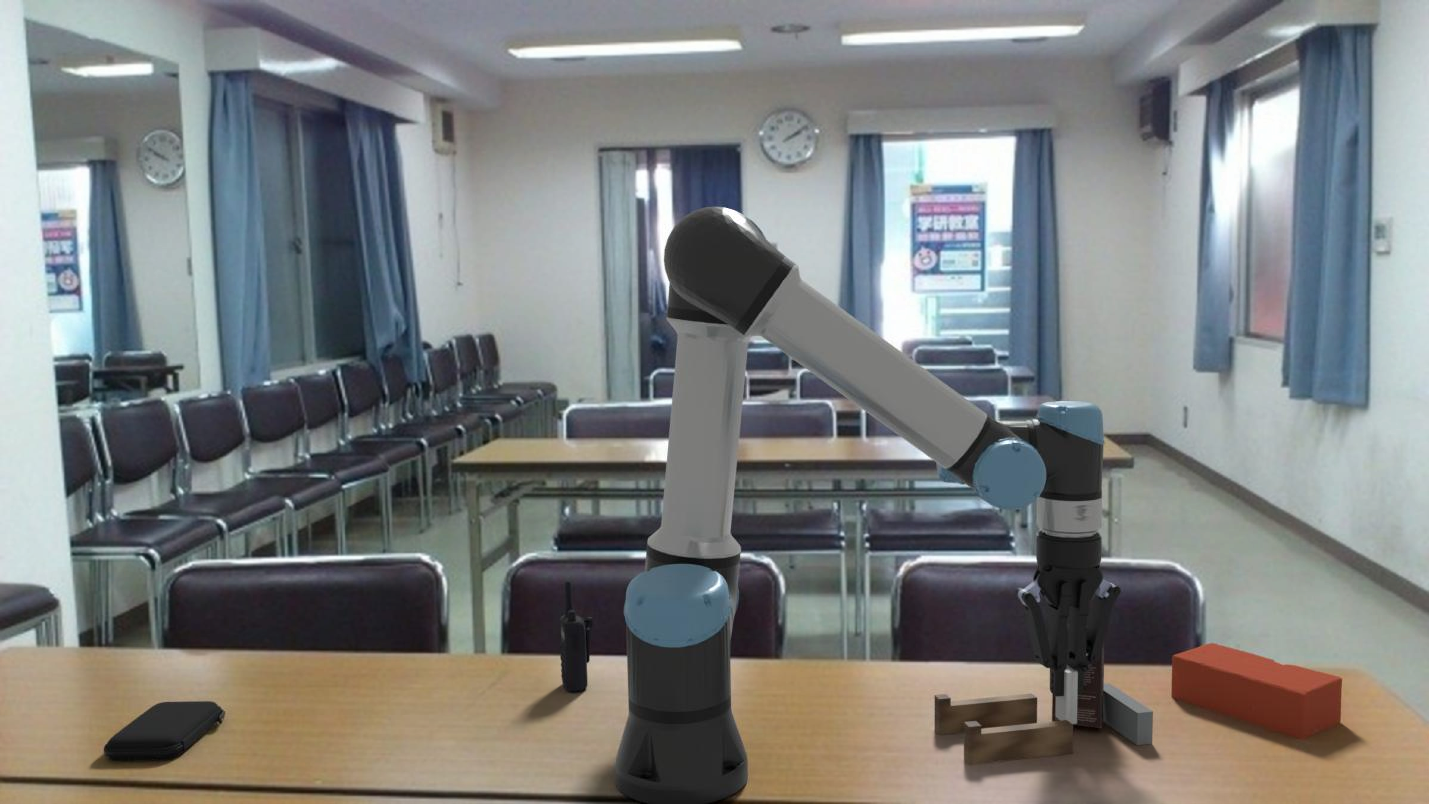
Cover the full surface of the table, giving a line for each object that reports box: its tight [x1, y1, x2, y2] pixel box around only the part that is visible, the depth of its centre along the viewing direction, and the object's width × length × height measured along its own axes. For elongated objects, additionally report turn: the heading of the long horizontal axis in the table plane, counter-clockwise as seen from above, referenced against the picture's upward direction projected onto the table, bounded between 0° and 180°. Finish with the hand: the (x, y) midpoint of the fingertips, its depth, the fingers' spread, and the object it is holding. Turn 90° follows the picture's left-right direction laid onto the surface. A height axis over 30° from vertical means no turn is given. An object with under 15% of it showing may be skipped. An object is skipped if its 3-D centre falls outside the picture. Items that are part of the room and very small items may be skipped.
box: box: [1051, 624, 1105, 729], centre depth 147 cm, size 6×4×12 cm
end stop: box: [1103, 682, 1154, 746], centre depth 146 cm, size 2×10×4 cm, turn 11°
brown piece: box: [934, 693, 1074, 765], centre depth 142 cm, size 13×11×4 cm
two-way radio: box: [559, 579, 594, 692], centre depth 164 cm, size 6×4×15 cm
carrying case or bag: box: [103, 700, 226, 762], centre depth 149 cm, size 11×3×15 cm
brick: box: [1170, 642, 1343, 740], centre depth 151 cm, size 18×9×6 cm, turn 35°
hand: (1066, 719), depth 144 cm, fingers closed
